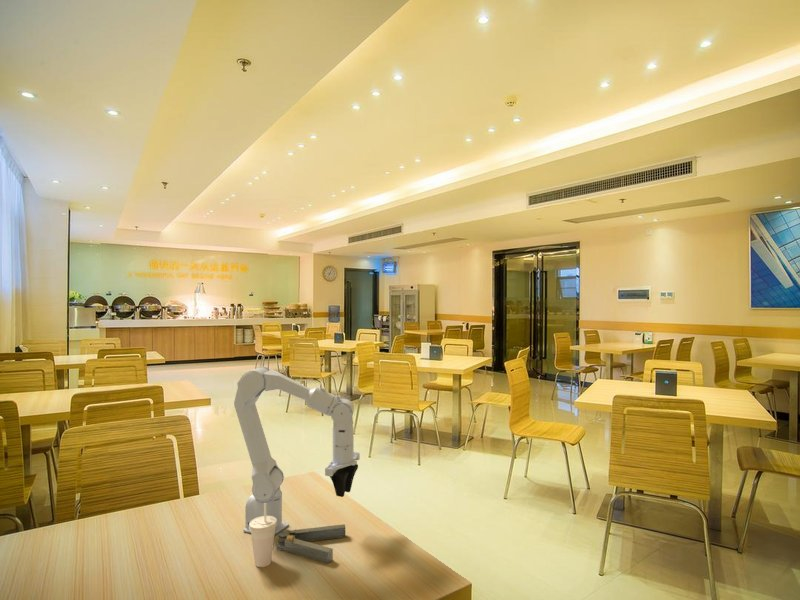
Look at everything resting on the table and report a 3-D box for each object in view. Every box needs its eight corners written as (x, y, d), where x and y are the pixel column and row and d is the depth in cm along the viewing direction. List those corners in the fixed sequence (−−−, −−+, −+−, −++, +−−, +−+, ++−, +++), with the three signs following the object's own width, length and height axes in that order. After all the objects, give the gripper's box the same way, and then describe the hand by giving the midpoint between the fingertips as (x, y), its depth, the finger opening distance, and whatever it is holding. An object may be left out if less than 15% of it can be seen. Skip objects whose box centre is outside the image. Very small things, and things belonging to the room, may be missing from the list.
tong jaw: (278, 546, 112) (278, 535, 112) (279, 540, 115) (279, 530, 115) (345, 538, 116) (345, 528, 116) (344, 532, 119) (344, 523, 119)
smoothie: (268, 572, 102) (268, 510, 102) (243, 568, 103) (243, 508, 103) (281, 556, 108) (281, 498, 108) (257, 553, 109) (257, 496, 109)
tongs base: (271, 547, 112) (271, 533, 112) (284, 539, 116) (283, 525, 116) (328, 563, 105) (328, 548, 105) (339, 554, 109) (339, 539, 109)
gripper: (341, 453, 114) (341, 507, 114) (368, 438, 127) (368, 486, 127) (318, 450, 117) (318, 502, 117) (347, 435, 130) (347, 482, 130)
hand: (343, 493), depth 122 cm, fingers open, 3 cm apart
